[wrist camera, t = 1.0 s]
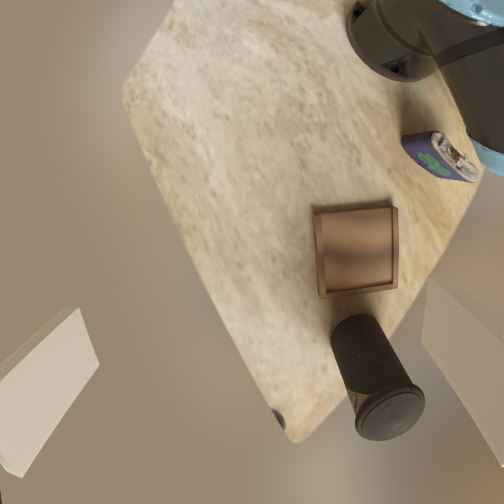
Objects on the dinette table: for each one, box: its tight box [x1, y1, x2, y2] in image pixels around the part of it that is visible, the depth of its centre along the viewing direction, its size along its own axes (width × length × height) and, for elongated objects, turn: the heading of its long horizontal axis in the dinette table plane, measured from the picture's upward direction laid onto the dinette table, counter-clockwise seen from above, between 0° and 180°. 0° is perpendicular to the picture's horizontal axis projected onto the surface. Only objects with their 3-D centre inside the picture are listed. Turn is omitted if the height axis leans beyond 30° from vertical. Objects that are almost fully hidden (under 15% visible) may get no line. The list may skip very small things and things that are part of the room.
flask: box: [401, 131, 478, 183], centre depth 36 cm, size 9×3×11 cm, turn 59°
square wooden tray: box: [313, 206, 399, 299], centre depth 44 cm, size 12×12×2 cm
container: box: [331, 315, 425, 441], centre depth 39 cm, size 9×9×20 cm
